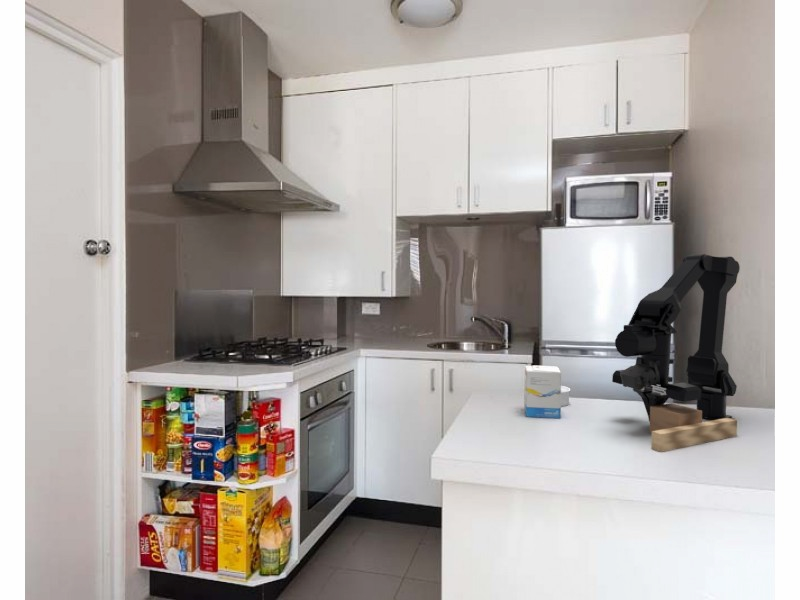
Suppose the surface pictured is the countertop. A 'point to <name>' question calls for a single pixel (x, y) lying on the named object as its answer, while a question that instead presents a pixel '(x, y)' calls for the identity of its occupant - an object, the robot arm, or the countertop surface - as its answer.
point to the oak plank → (693, 434)
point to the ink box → (542, 391)
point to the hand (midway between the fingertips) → (651, 421)
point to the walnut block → (672, 416)
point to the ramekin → (565, 395)
